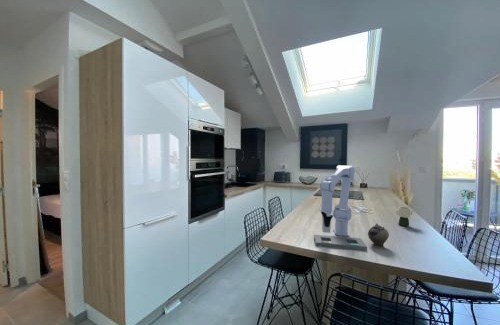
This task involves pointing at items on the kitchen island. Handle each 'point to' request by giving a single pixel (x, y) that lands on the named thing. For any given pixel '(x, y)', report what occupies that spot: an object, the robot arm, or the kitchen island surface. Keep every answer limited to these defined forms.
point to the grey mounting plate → (340, 242)
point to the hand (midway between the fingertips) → (326, 225)
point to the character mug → (404, 215)
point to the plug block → (325, 229)
